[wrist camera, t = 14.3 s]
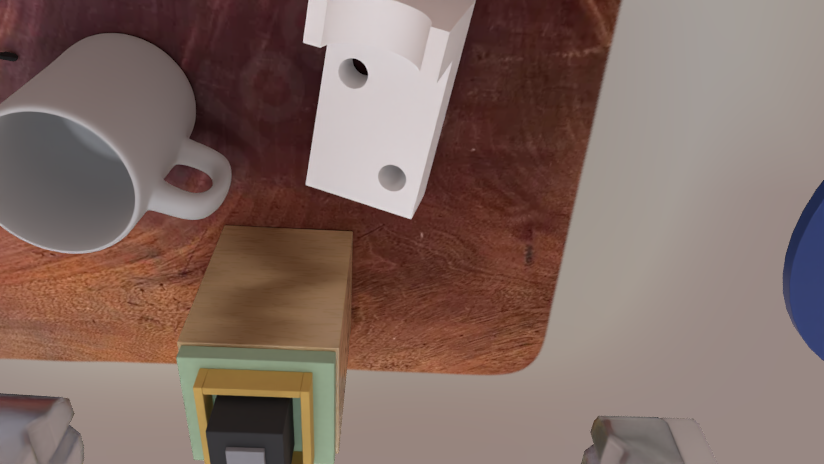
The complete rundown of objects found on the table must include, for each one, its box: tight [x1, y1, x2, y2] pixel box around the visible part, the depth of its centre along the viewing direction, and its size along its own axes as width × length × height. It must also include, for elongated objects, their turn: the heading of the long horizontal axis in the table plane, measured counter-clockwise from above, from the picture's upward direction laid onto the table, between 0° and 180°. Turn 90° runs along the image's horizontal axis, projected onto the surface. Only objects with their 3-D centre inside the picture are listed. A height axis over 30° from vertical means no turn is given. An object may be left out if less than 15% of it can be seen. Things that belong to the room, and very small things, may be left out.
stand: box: [177, 225, 353, 453], centre depth 45 cm, size 9×9×12 cm
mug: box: [0, 33, 232, 254], centre depth 38 cm, size 12×8×11 cm
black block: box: [206, 395, 295, 464], centre depth 38 cm, size 4×5×4 cm
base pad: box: [176, 345, 336, 464], centre depth 39 cm, size 9×9×2 cm
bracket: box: [303, 0, 476, 219], centre depth 39 cm, size 13×7×8 cm, turn 168°
